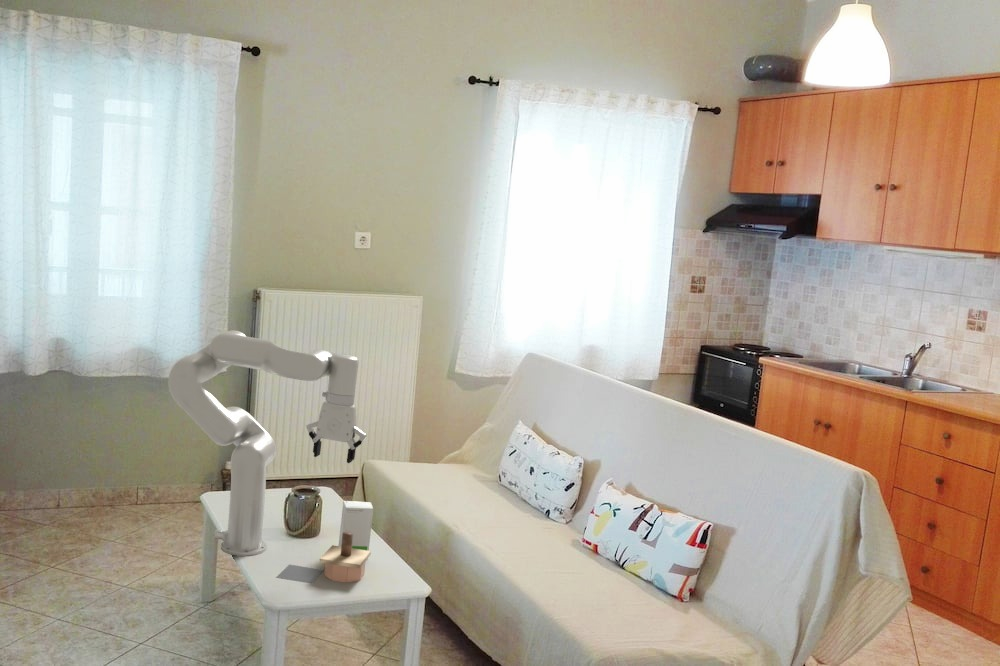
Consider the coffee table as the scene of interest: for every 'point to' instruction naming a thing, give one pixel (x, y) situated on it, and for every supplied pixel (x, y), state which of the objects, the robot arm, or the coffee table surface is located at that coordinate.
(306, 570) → the mat
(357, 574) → the bowl
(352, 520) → the skincare box
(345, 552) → the lid
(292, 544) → the coffee table surface
